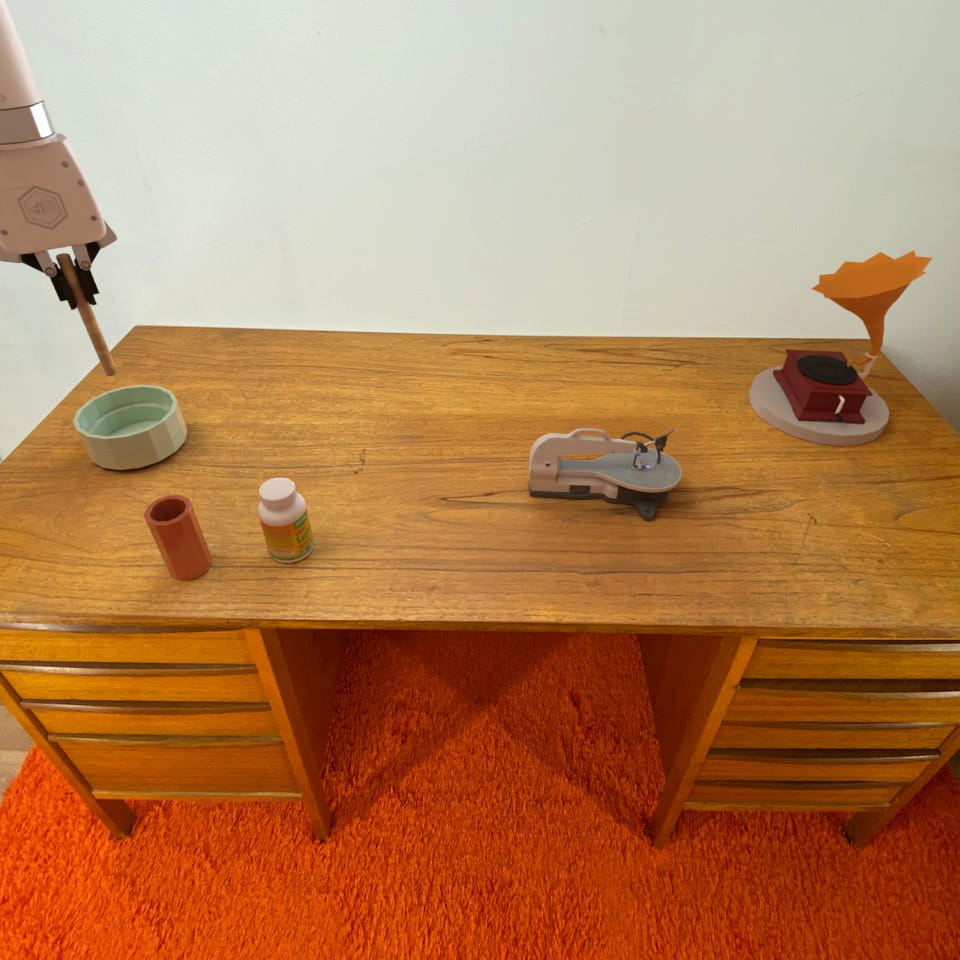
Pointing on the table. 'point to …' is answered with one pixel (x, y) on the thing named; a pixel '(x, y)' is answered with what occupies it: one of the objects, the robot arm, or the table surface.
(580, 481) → the jigsaw machine
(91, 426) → the bowl
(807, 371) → the gramophone
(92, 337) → the stick
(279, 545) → the supplement bottle
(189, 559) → the utensil pot
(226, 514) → the table surface
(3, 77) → the robot arm
